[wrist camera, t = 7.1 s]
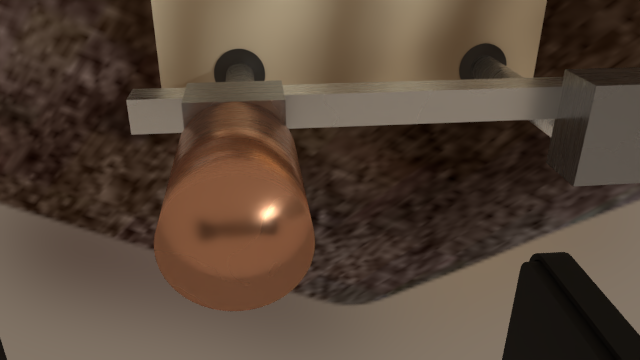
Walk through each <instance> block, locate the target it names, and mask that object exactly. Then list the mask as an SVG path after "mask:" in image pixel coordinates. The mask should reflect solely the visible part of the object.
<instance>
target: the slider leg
mask: <svg viewBox="0 0 640 360" xmlns="http://www.w3.org/2000/svg"><path fill="white" fill-rule="evenodd" d="M181 105H182V115H183V124H184V130H183V132H182V134H181V137H180V139H179V143H178V147H177V150H176V154H175V158H174V162H173V166H172V170H171V174H170V178H169V182H168V185H167V189H166V193H165V197H164V201H163V205H162V209H161V213H160V217H159V220H158V224H157V228H156V232H155V238H154V252H155V257H156V261H157V264H158V266H159V269H160V271H161V273H162V274H163V276H164V278H165V279H166V280H167V282H168V283H169V284H170V285H171V286H172V287H173V288H174V289H175V290H176V291H177V292H178V293H180V294H181V295H182V296H184V297H185V298H187V299H189V300H190V301H192V302H194V303H197V304H199V305H201V306H204V307H208V308H212V309H217V310H223V311H243V310H251V309H255V308H259V307H263V306H265V305H268V304H271V303H272V302H275V301H277V300H278V299H280V298H282V297H284V296H285V295H287V294H288V293H289V292H290V291H292V290H293V289H294V288H295V287H296V286H297V285H298V284H299V283H300V281H301V280H302V279H303V277H304V276H305V275H306V273H307V271H308V269H309V267H310V265H311V262H312V259H313V255H314V250H315V235H314V230H313V225H312V221H311V216H310V212H309V207H308V202H307V198H306V193H305V189H304V184H303V179H302V175H301V170H300V166H299V161H298V156H297V152H296V147H295V143H294V140H293V137H292V135H291V133H290V131H289V129H288V128H287V126H286V100H285V95H284V91H283V86H282V81H281V80H278V81H254V73H253V70H252V69H251V67H250V66H248V65H247V64H245V63H240V62H239V63H234V64H232V65H231V66H230V67H229V68H228V70H227V72H226V82H206V83H187V85H186V89H185V92H184V95H183V99H182V102H181Z"/></svg>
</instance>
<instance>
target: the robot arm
mask: <svg viewBox="0 0 640 360" xmlns="http://www.w3.org/2000/svg"><path fill="white" fill-rule="evenodd" d="M0 360H7V358H6V355H5V352H4V349H3V346H2V342H1V340H0ZM502 360H640V335H639V334H638V333H637V332H636V331H635V330H634V328H633V327H632V326H631V325H630V324H629V323H628V321H627V320H626V319H625V318H624V317H623V316H622V314H621V313H620V312H619V311H618V310H617V309H616V307H615V306H614V305H613V304H612V303H611V302H610V300H609V299H608V298H607V297H606V296H605V295H604V294H603V292H602V291H601V290H600V289H599V288H598V287H597V285H596V284H595V283H594V282H593V281H592V280H591V278H590V277H589V276H588V275H587V274H586V273H585V271H584V270H583V269H582V268H581V267H580V266H579V265H578V263H577V262H576V261H575V260H574V259H573V258H572V256H570V255H569V254H568V253H565V252H558V253H557V252H556V253H537V254H534V255H532V257H531V258H530V261H529V262H525V263H523V264H522V266H521V269H520V274H519V279H518V283H517V289H516V293H515V298H514V304H513V309H512V314H511V318H510V323H509V328H508V333H507V338H506V343H505V348H504V353H503V358H502Z"/></svg>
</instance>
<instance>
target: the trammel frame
mask: <svg viewBox="0 0 640 360" xmlns="http://www.w3.org/2000/svg"><path fill="white" fill-rule="evenodd" d="M471 75H472V76H473V78H474V79H467V80H432V81H397V82H362V83H327V84H292V85H282V86H283V91H284V95H285V100H286V126H287V128H288V129H294V128H321V127H348V126H375V125H401V124H428V123H455V122H481V121H508V120H529V121H530V122H531V123H533V124H534V125H535V126H537V127H538V128H539V129H540V130H542V131H543V132H544V133H546V134H547V135H548V136H550V137H551V141H550V146H549V151H548V156H547V161H546V163H547V164H548V165H549V166H551V167H552V168H553V169H554V170H555V171H556V172H558V173H559V174H560V175H561V176H562V177H563V178H564V179H566V180H567V181H568V182H569V183H570V184H571V185H573V186H591V185H610V184H629V183H640V67H631V68H594V69H565V72H564V77H537V78H524V77H522V76H521V75H519V74H517V73H516V72H514V71H513V70H511V69H510V68H508V67H506V66H505V65H503V64H502V63H500V62H499V61H497V60H495V59H494V58H492V57H491V56H488V55H482V56H480V57H478V58H476V59H475V60H474V62H473V63H472V65H471ZM185 89H186V88H152V89H132V91H131V93H130V94H129V96H128V98H127V100H126V102H127V108H128V115H129V122H130V128H131V135H134V134H161V133H182V132H183V130H184V124H183V115H182V105H181V102H182V99H183V95H184V92H185Z"/></svg>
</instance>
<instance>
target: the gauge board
mask: <svg viewBox="0 0 640 360" xmlns="http://www.w3.org/2000/svg"><path fill="white" fill-rule="evenodd" d="M546 3H547V0H151V5H152V13H153V22H154V30H155V38H156V47H157V55H158V63H159V72H160V80H161V88H186V85H187V83H206V82H226V72H227V70H228V68H229V67H230V66H231V65H232V64H234V63H239V62H240V63H245V64H247V65H248V66H250V67H251V69H252V70H253V73H254V81H278V80H281V81H282V85H292V84H327V83H362V82H397V81H432V80H467V79H474V78H473V76H472V75H471V65H472V63H473V62H474V60H475V59H476V58H478V57H480V56H482V55H488V56H491V57H492V58H494V59H495V60H497V61H499V62H500V63H502V64H503V65H505V66H506V67H508V68H510V69H511V70H513V71H514V72H516V73H517V74H519V75H521V76H522V77H524V78H533V76H534V70H535V65H536V59H537V54H538V48H539V42H540V37H541V31H542V25H543V20H544V14H545V9H546Z"/></svg>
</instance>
